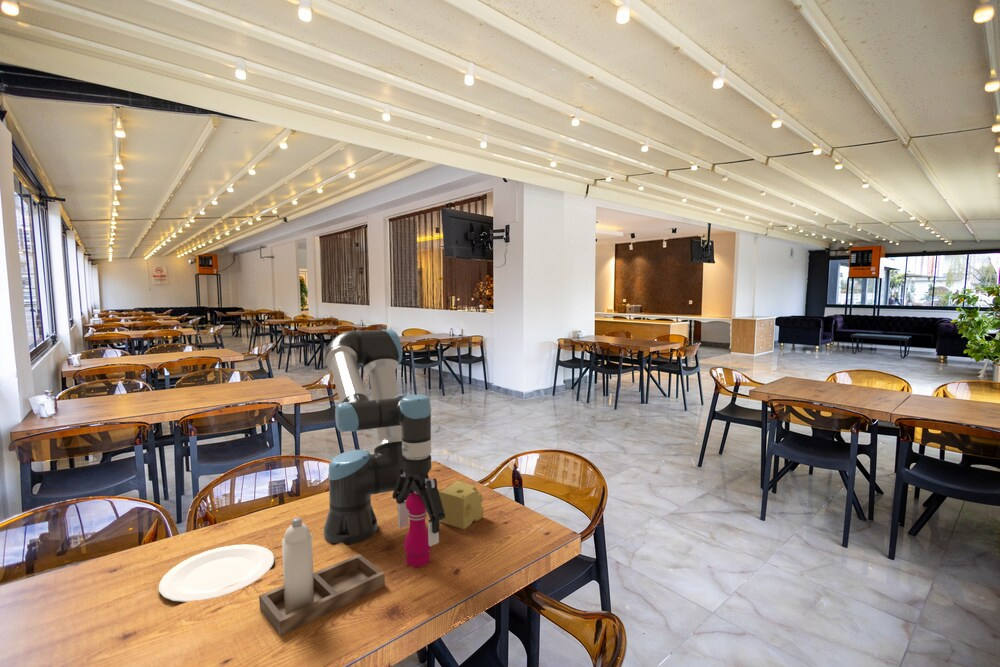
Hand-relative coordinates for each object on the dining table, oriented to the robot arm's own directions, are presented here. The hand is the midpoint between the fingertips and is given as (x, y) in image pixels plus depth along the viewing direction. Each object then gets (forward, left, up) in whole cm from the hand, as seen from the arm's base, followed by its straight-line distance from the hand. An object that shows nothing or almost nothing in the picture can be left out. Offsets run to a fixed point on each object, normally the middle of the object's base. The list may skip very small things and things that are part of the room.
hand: (418, 534), depth 125 cm
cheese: (-10, +23, -8) cm, 26 cm away
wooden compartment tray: (-1, -25, -7) cm, 26 cm away
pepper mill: (0, 0, -7) cm, 7 cm away
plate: (-30, -39, -8) cm, 50 cm away
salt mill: (-1, -31, -6) cm, 31 cm away
